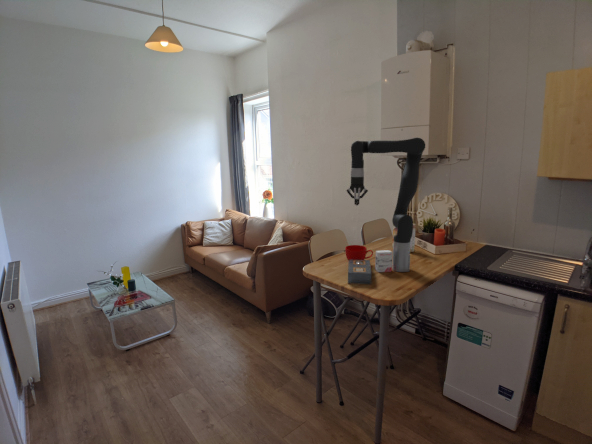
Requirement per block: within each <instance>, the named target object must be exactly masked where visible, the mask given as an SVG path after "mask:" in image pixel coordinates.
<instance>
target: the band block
mask: <svg viewBox="0 0 592 444" xmlns="http://www.w3.org/2000/svg"><path fill="white" fill-rule="evenodd" d="M370 261H371V260H370V259H364V260H352V259H349V261H348V268H347V269H348V270H347V284H351V283H354V284H355V285H372V269H371V262H370ZM356 262H363V264H356ZM356 269H363V271H356Z"/></svg>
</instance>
